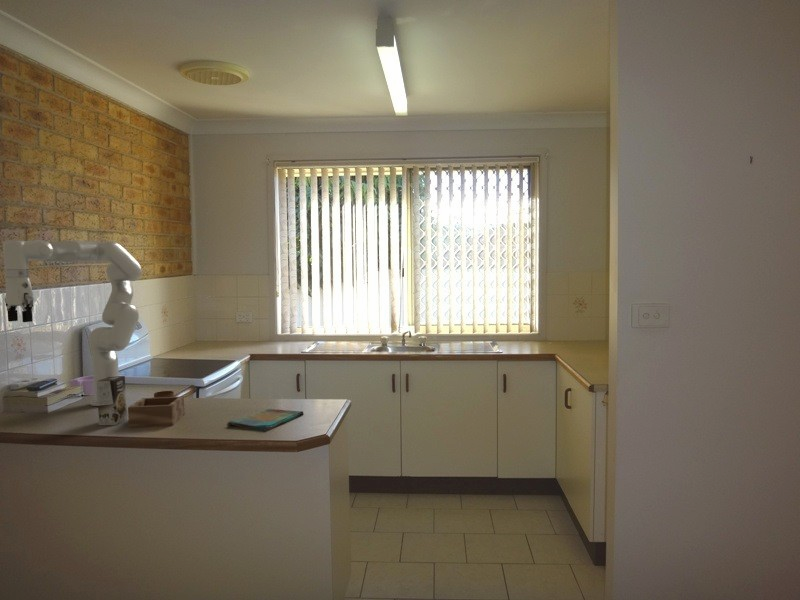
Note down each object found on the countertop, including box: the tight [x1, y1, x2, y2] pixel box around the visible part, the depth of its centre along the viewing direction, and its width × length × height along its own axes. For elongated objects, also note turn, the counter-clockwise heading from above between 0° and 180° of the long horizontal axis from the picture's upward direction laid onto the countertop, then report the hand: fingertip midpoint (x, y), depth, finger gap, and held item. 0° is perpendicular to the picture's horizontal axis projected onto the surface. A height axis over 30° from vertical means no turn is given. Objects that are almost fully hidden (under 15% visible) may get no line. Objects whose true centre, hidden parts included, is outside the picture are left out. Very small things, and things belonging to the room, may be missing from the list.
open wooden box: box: [127, 396, 186, 428], centre depth 223 cm, size 15×15×7 cm
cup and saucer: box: [152, 390, 175, 398], centre depth 244 cm, size 12×12×6 cm
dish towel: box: [226, 408, 304, 432], centre depth 219 cm, size 17×23×2 cm
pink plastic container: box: [69, 375, 94, 394], centre depth 280 cm, size 20×12×7 cm, turn 145°
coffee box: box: [97, 375, 128, 426], centre depth 223 cm, size 9×6×16 cm
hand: (20, 321), depth 225 cm, fingers open, 9 cm apart
